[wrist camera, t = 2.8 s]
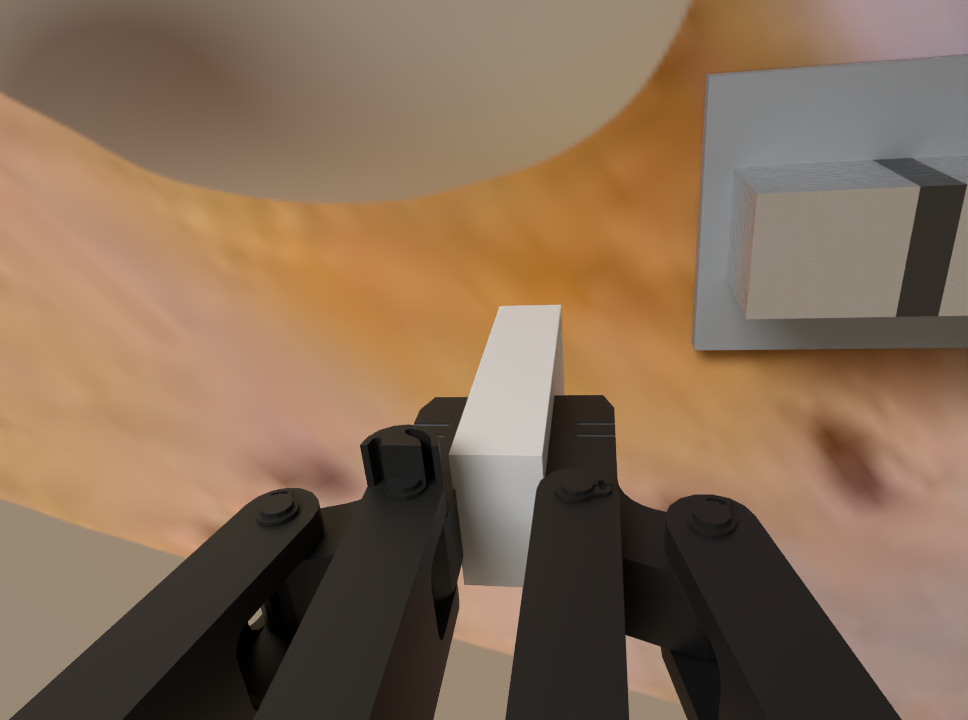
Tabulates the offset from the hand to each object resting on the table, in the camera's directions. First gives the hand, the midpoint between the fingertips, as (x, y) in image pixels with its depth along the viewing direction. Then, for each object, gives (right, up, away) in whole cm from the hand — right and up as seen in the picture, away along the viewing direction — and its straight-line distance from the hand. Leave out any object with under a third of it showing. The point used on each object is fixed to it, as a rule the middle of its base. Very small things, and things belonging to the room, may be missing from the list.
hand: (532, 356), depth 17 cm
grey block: (+12, +5, +7) cm, 15 cm away
